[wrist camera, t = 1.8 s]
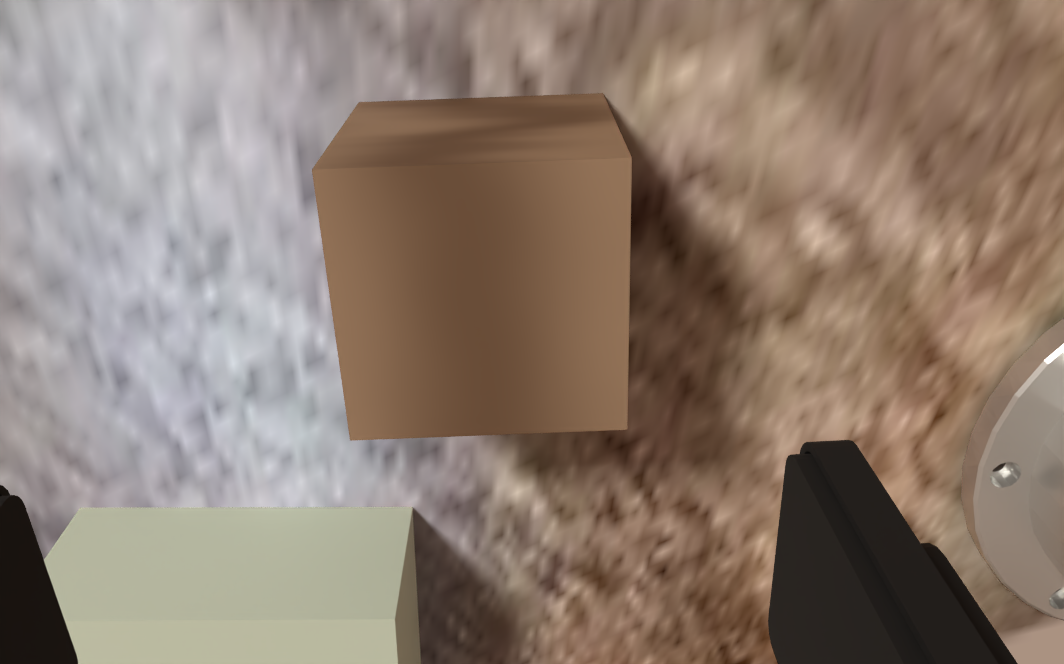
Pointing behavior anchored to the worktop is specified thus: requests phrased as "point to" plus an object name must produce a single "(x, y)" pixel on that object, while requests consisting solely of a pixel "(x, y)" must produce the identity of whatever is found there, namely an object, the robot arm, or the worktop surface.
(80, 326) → the worktop surface
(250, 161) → the worktop surface
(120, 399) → the worktop surface
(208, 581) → the sage block
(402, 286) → the walnut block
